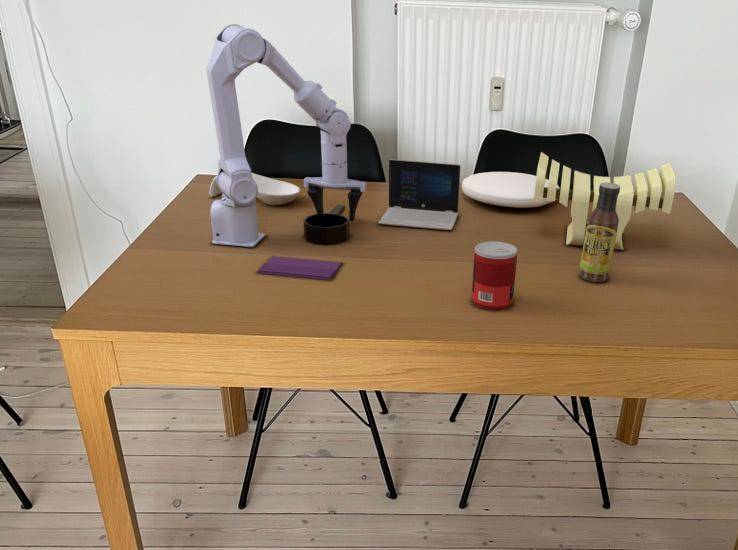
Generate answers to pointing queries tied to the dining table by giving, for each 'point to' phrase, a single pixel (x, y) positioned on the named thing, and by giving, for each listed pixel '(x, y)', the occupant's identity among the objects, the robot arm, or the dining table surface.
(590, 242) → the sauce bottle
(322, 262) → the rag
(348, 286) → the dining table surface
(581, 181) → the slatted curved stool
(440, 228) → the laptop
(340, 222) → the pan
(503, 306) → the canned food
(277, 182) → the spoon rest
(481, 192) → the plate
